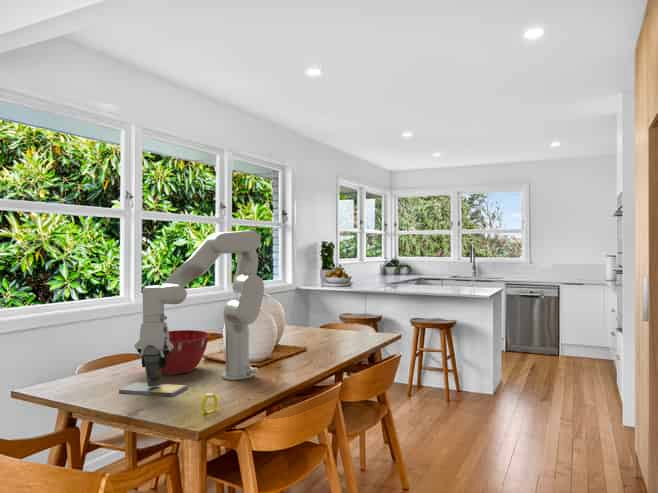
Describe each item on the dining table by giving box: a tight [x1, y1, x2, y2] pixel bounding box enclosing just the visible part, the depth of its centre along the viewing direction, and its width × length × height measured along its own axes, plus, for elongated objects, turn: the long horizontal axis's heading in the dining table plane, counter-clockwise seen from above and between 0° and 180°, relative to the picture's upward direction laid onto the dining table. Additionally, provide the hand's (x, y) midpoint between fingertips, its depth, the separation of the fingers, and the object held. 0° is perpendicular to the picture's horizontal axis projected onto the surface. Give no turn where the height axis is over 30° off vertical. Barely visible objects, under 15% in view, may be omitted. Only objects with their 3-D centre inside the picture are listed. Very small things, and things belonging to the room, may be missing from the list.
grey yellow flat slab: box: [118, 382, 188, 397], centre depth 183 cm, size 22×10×1 cm, turn 77°
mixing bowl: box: [161, 329, 210, 376], centre depth 213 cm, size 28×28×16 cm
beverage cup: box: [143, 345, 162, 387], centre depth 183 cm, size 7×7×20 cm
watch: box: [201, 392, 219, 415], centre depth 158 cm, size 6×3×6 cm, turn 149°
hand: (154, 366), depth 183 cm, fingers closed on beverage cup, 6 cm apart
